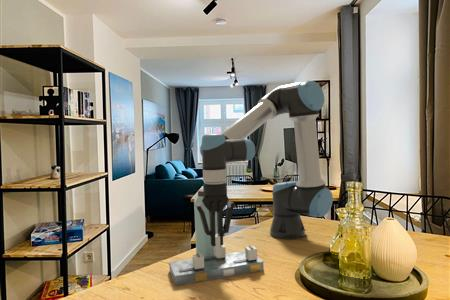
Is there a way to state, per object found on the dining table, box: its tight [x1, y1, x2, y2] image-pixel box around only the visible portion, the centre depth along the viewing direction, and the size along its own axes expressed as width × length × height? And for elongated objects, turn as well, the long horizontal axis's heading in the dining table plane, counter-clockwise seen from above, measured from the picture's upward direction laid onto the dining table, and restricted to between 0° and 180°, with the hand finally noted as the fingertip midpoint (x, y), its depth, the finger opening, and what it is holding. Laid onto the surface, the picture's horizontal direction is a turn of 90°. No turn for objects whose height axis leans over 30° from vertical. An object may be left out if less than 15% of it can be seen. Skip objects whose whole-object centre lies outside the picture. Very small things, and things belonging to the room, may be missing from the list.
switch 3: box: [244, 245, 258, 261], centre depth 112 cm, size 3×3×4 cm
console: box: [168, 250, 265, 287], centre depth 112 cm, size 29×12×3 cm, turn 107°
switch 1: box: [191, 253, 204, 269], centre depth 107 cm, size 3×3×4 cm
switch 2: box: [216, 244, 227, 258], centre depth 115 cm, size 3×3×4 cm
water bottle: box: [193, 188, 218, 257], centre depth 124 cm, size 10×10×25 cm
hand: (217, 255), depth 108 cm, fingers closed
